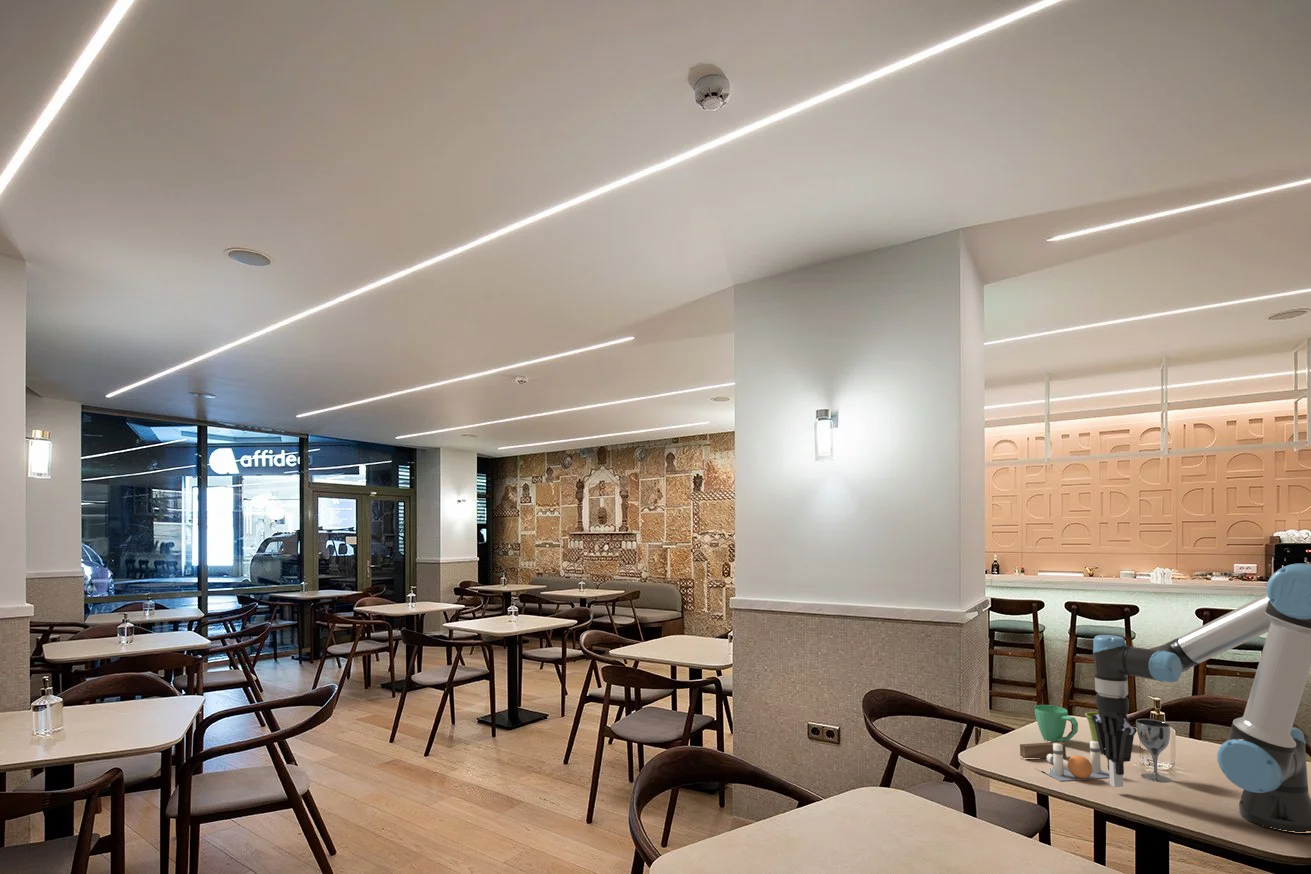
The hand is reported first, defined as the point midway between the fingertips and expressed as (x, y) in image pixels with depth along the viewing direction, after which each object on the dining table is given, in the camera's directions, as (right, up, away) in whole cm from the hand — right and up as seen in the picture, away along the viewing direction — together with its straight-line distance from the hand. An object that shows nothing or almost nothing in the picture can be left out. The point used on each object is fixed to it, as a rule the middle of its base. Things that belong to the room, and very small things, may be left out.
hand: (1116, 785), depth 194 cm
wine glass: (+18, -3, +11) cm, 22 cm away
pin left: (-8, -3, +12) cm, 15 cm away
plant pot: (+22, -6, +41) cm, 47 cm away
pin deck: (-3, -3, +15) cm, 15 cm away
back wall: (-5, -5, +27) cm, 28 cm away
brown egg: (-3, 0, +11) cm, 11 cm away
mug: (+8, -6, +42) cm, 43 cm away
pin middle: (-3, -2, +15) cm, 16 cm away
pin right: (+3, -3, +15) cm, 15 cm away
